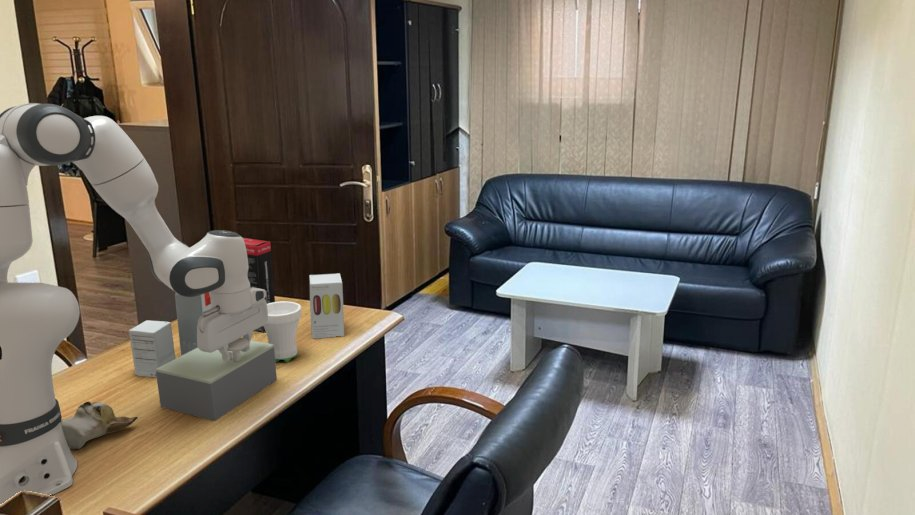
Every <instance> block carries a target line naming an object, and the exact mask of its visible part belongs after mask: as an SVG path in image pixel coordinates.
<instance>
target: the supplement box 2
mask: <svg viewBox="0 0 915 515" xmlns="http://www.w3.org/2000/svg"><path fill="white" fill-rule="evenodd" d="M308 279H309V307H310V308H309V309H310V314H309V315H310V329H311V337H312V339H315V340H316V339H325V338H337V337H336V336H341V337H345V320H344V319H345V318H344V293H343V292H344V290H343V281H342V280H343V279H342V277H341V273H340V272H339V273H338V272H337V273H325V274H324V273H323V274H309V278H308Z"/></svg>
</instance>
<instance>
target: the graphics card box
mask: <svg viewBox="0 0 915 515" xmlns="http://www.w3.org/2000/svg"><path fill="white" fill-rule="evenodd" d="M242 238H243V240H244V242H245V246H246V251H247V258H248V267H249V268H248V274H247V276H248V280H249V282H250V287H254V288H259V289H264V290H265V291H266V297H265V298H264V299H265V300H266V302H267V304H268V303H273V302H276V298H275V284H274V274H273V273H274V271H273V260H272V248H271V247H272V245H271V241H269V240H268V241H267V240H261V239H255V238H254V239H253V238H247V237H242ZM254 331H257V332H261V333H266V331H265V328H264V326H262V327H260V328H258V329H256V330H254Z"/></svg>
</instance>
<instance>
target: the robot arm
mask: <svg viewBox="0 0 915 515" xmlns="http://www.w3.org/2000/svg"><path fill="white" fill-rule="evenodd" d="M70 163H73V164H74V165H76V167H77V168H79V170H80V171H82V173H83V174H84V176H85V177H86V180H88V182H89V183H90V185H91V186H92V188H93V189H94V190H95V192H96V193H97V194H98V196H99V197H101V199H102V200H103V201H104V202H105V203H106V205H108V206H109V207H110V208H111V209H112V210H113V211H115V213H117V214H118V215H120V216H121V217H122V218H124V219H125V221H126V222H127V223H128V224H129V225H130V227H131V228H132V230H133V231H134V233H135V234H136V236H137V237H138V239H139V241H140V242H141V243H142V245H143V246H144V248H145V250H146V253H147V255H148V256H147V257H148V263H149V269H150V272H151V273H152V274H151V275H152V276H154V278H155V279H156V280H157V281H158V282H159V283H162V284H163V285H165V286H167V287H168V288H169V289H171V290H172V291H173V292H175V293H178V294H179V295H182V296H185V297H195V296H199V295H202V294H205V293H208V292H210V299H211V309H209V310H207V311H204V312H203V313H202V315H201V316H200V318H199V319H198V325H197V347H198V349H199V350H201V351H203V352H208V353H212V352H214V351H216V350H219V352H220V353H221V354H222V360H223V361H225V362H228V361H230V360H232V359H233V357H232V353H231V352H228V350H227V348H228V344H229V343H231V342H233V341H235V340H237V339H239V338H245V339H247V340H248V347H247V348H245V349H242V350H241V351H242V352H246V351H248V350H250V341H251V340H252V339H253V332H254V331H255V330H256V329H258V328H260V327H262V326H263V325H265V324H266V323H267V320H268V309H267V302H266V300H265V299H264V298H265V297H266V291H265V290H264V289H259V288H254V287H250V282H249V280H248V276H247V274H248V268H249V267H248V258H247V251H246V246H245V242H244V240H243V238H244V237H242V236H241V235H240V234H238V232H235V231H232V230H225V229H223V230H222V229H217V230H216V229H214V230H210V231H208V232H206V235H205V236H204V237H202V239H201V240H199V241H198V242H196V243H195V244H194V245H192V246H189V245H188V244H186V243H184V242H182V241H180V239H178V238H176V237H175V236H174V235H173V233H172V232H171V230H170V229H169V227H168V226H167V224H166V222H165V220H164V219H163V218H162V216H161V214H160V213H159V211H158V208H157V206H156V201H155V199H156V198H157V196H158V192H159V184H158V181H157V179H156V177H155V173H154V172H153V170H152V168H151V166H150V164H149V163H148V162H147V160H146V158H145V157H144V155H143V153H142V152H141V151H140V149H139V148H138V147H137V145H136V144H135V143H134V141H133V140H132V139H131V138H130V136H128V134H127V133H126V132H125V131H124V130H123V128H122V127H120V125H119V124H118V123H117V122H115V121H114V119H112V118H110V117H108V116H107V115H106V116H105V115H93V116H88V117H84V118H83V117H82V116H80V115H78V114H77V113H74V112H73V111H71V110H69V108H66V107H64V106H60V105H58V104H53V103H39V102H37V103H36V102H27V103H24V104H20V105H17V106H12V107H9V108H6V109H5V110H4V111H3V112H0V348H1V359H0V504H2V503H4V502H5V501H6V500H8V499H9V498H11V497H12V496H14V495H15V494H16V493H18V492H20V491H24V490H25V491H32V492H37V493H42V494H47V495H50V494H53V495H55V494H57V493H60V492H62V491H64V490H65V489H67V488H69V487H71V486H72V485H73V483H74V479H73V475H74V474H75V472H76V471H77V468H78V462H77V460H76V458H75V457H74V455H73V454H72V451H71V449H70V448H69V447H68V444H67V442H66V439H65V436H64V433H63V430H62V427H61V420H63V419H62V418H63V417H62V413H61V412H62V411H61V407H60V403H59V401H58V399H57V398H56V394H55V388H54V381H53V379H54V378H53V374H52V373H53V370H52V366H53V365H52V364H53V358H54V355H55V353H56V350H57V349H58V346H59V345H60V344H61V343H62V342H63V341H64V340H66V338H68V337H69V336H70V335H71V334H72V333H73V332H74V330H75V328H76V327H77V325H78V322H79V319H80V314H81V312H80V306H79V305H80V304H79V302H78V300H77V298H76V296H75V294H74V293H73V292H72V291H71V290H70V289H68V288H67V287H63V286H59V285H54V284H50V283H43V282H11V281H10V282H9V281H8V272H9V269H10V267H11V264H12V263H13V262H15V261H17V260H19V259H20V258H22V257H24V255H26V254H27V253H28V252H29V251H30V249H31V248H32V245H33V230H32V220H31V219H32V218H31V211H30V200H29V191H28V184H29V182H28V180H29V176H30V174H31V172H32V170H33V169H34V168H35V166H38V167H39V166H40V167H42V166H43V167H44V166H45V167H46V166H47V167H48V166H61V165H67V164H70Z"/></svg>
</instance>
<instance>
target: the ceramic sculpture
mask: <svg viewBox="0 0 915 515" xmlns="http://www.w3.org/2000/svg"><path fill="white" fill-rule="evenodd" d="M138 417H139V416H133V417H128V416H115V413H114V410H113V407H112V406H110V405H109V404H107V403H105V402H100V401H94V402H90V401H84V402H83V403H82V404H80V405H79V406H78V407H77V409H76V412H75V413H74V415H73V416H71V417H68V418H65V419H61V427H62V430H63V433H64V436H65V439H66V442H67V444H68V447H69V449H70V450H79V449H82V447H83V446H84V445H85V443H86V442H87V441H90V440H93V439H97V438H100V437H102V436H105V435H107V434H109V433H116V432H120V431H122V430H125V429H126V428H128V427H130V426H131V425H132V424H133V423H134V422H135V421H136V420H138Z"/></svg>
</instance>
